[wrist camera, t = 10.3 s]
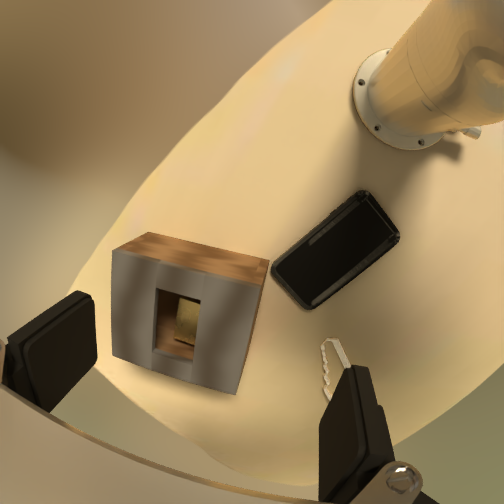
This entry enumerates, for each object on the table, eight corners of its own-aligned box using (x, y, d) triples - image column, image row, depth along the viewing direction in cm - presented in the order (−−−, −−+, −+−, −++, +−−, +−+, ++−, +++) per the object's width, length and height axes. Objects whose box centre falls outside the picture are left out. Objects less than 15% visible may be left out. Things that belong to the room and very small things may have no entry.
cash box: (269, 260, 39) (260, 288, 30) (247, 353, 43) (235, 395, 34) (148, 231, 40) (112, 250, 32) (142, 323, 44) (112, 355, 36)
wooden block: (210, 293, 41) (203, 305, 37) (202, 331, 42) (194, 345, 39) (189, 286, 41) (179, 297, 38) (182, 325, 43) (173, 337, 39)
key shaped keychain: (302, 343, 43) (301, 350, 41) (335, 330, 41) (336, 336, 40) (335, 407, 44) (336, 414, 43) (365, 396, 43) (366, 403, 41)
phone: (403, 238, 35) (308, 313, 39) (401, 235, 36) (308, 309, 40) (364, 185, 34) (266, 267, 38) (362, 185, 35) (267, 264, 39)
